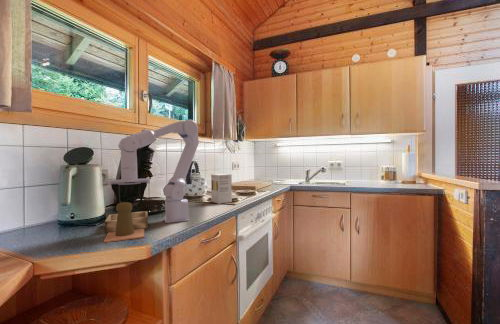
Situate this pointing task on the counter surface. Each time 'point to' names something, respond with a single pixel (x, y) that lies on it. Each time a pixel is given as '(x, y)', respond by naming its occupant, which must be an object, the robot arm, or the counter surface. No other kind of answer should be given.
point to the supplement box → (221, 188)
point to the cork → (124, 219)
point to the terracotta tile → (112, 237)
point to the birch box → (137, 217)
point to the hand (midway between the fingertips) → (130, 203)
